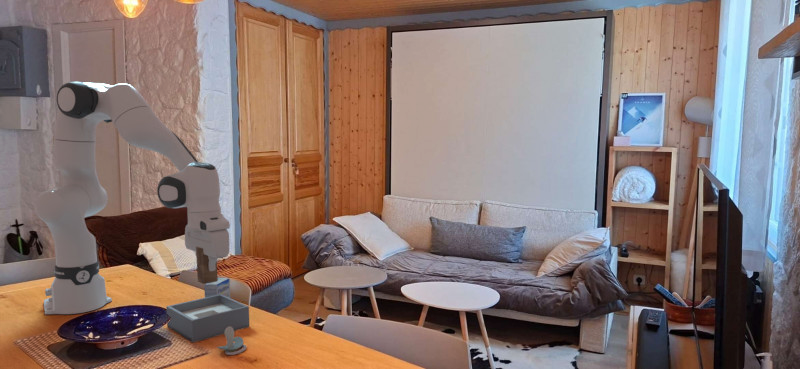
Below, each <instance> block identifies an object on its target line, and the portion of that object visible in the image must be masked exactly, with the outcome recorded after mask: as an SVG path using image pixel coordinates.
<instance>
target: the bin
mask: <svg viewBox="0 0 800 369" xmlns="http://www.w3.org/2000/svg"><path fill="white" fill-rule="evenodd" d="M167 314H168V315H169V316H170V317H171V319H170V321H169V322H168V323H167V322H166V326H167V328H168V329H170V330H171V331H173V332H175V333H176V334H178V335H180V336H182V337H183V338H185V340H188V341H189V342H190V343H196V342H200V341H203V340H207V339H212V338H214V337H217V336H222V335H225V334H224V332H225V329H226V328H227V327H229V326H230V327H232V328H233V329H234V332H236V331H239V330H243V329H246V328H250V307H249V305H247V304H245V303H242V302H240V301H238V300H235V299H233V298H231V297H230V298H229V297H226V296H224V295H222V294H219V295H215V296H210V297H206V298H205V297H202V298H197V299H193V300H189V301H184V302H179V303H175V304H171V305H170V304H169V305H167V306H166V315H167Z"/></svg>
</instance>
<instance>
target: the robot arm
mask: <svg viewBox="0 0 800 369" xmlns="http://www.w3.org/2000/svg"><path fill="white" fill-rule="evenodd" d="M56 103H57V107H58V112H57V115H56V120H55V125H54V132H53V160H52V161H53V165H54V167H55V169H56V170H58V171H59V172H60V174H61V177H62V181H63V182H62V183H63V185H62V186H56V187H52V188H49V189H47V190H45V191H43V192H42V193H39V194H38V196H37V197H36V199H35V200H34V205H33V207H34V213H35V215H36V216H37V218H39V219H40V221H42V222H44V223H45V224H46V226H47V227H48V229H49V231H50V233H51V236H52V239H53V242H54V243H53V244H54V253H55V265H54V269H53V270H54V271H53V273H54V277H55V278H54V279H53V281H52V282H51V285H50V288H49V287H48V288H45V290H44V295H45V297H48V298H46V299H43V309H44V311H45V312H44V315H75V314H83V313H86V312H87V313H88V312H92V311H95V310H97V309H101V308H103V307H104V306H105V305H107V304H108V303H111V302H112V301H113V300H112V297H109V296H107V288H106V281H105V277H104V276H102V275H101V274H100V273H99V272H100V263H99V261H98V256H97V240H96V237H95V235H94V234H93V233H91V232H90V231H89V229H88V227H87V224H86V220H85V218H88V217H92V216H94V215H96V214H98V213H100V212H101V211H102V210H104V209H105V208H106V207H107V204H108V200H109V199H108V198H109V197H108V193H107V190H106V189H105V188H104V187H102V185H101V182H100V180H99V178H98V174H97V173H98V172H97V166H96V143H97V142H96V141H97V140H96V139H97V138H96V136H97V135H96V130H97V127H98V124H99V123H101V122H104V123H106V124H108V123H113V125H114V127H115V129H116V130H117V132H118V133H119V135H120V136H121V138H122V139H124V140H125V142H126V143H127V144H129V145H131V146H133V147H135V148H139V149H143V150H148V151H152V152H155V153H157V154H158V153H159V154H161V155H163V156H164V157H166V158H168V160H170V162H171V163H172V164H173V165H174V167H175V168H176V169H177V170H178V171H177V172H175V173H172V174H169V175H166V176H164V177H162V178H161V180H160V181H159V182H158V186H157V189H156V192H157V198H158V199H159V202H160V203H161V204H162V205H163V206H164V207H166V208H167V209H180V208H187V224H186V225H185V228H184V230H185V231H184V247H185V248H186V249H187V250H189V251H192V252H195V253H196V247H199V248H203V253H204V255H207V256H208V259H209V264H207V270H209V271H215V270H216V262H217V263H218V259H223V258H227V257H228V256H229V254H230V233H229V229H230V228H231V227H230V226H231V224H230V221H229V220H228V219H227V218H226V217H225V216H224V215H223V214H222V209H221V208H222V207H221V205H220V195H221V186H220V179H219V178H220V176H219V173H218V169H217V168H216V166H215V165H213V164H212V163H207V162H199V160H198V159H197V158H196V157H195V156H194V154H192V152H191V151H190V149H189V148H188V147H187V145H185V144H184V142H183V141H182V140H181V138H180V137H179V136H178V135H177V134H176V133H175V132H173V131H172V130H171V129H170V128H169V127H168V126H166V125H165V124H164V123H163V122H162V121H161V120H160V118H159V117H158V116H157V115H156V113H155V112H154V110H153V108H152V107H151V106H150V105H149V103H148V102H147V100H146V99H145V98H144V97H143V96H142V94H141V93H140V92H139V91H138V90H137V89H136V88H135V87H134V86H133V85H131V84H128V83H116V84H114V85H110V84H107V83H101V82H81V81H70V82H67V83H64V84H62V85H61V86H60V88H59V89H58V91H57V94H56ZM49 296H51V297H49Z"/></svg>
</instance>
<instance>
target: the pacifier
mask: <svg viewBox="0 0 800 369" xmlns="http://www.w3.org/2000/svg"><path fill="white" fill-rule="evenodd" d="M223 335H224V337H225V339H226V345H221V346H216V348H217V349H220V350H224V352H225V354H226V355H227V356H234V355H235V356H236V355H239V354H241V353H243V352H244V351H246V349H247V347H248V346H247V345H246V344H244V339H243V338H242V337H241V336H235V331H234V329H233V328H232V327H230V326H229V327H227V328H226V329H225V332H224V334H223ZM238 349H239V350H238Z"/></svg>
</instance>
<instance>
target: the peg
mask: <svg viewBox="0 0 800 369" xmlns="http://www.w3.org/2000/svg"><path fill="white" fill-rule="evenodd" d="M195 257H196V271H197V272H196V273H197V282H198V283H201V284H202V285H205V284H207V283H212V282H216V281H218V278H219V277H218V261H217V262H216V270H215V271H209V270H207V264H209V259H208V256H207V255H204V253H203V248H199V247H196V252H195Z"/></svg>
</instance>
